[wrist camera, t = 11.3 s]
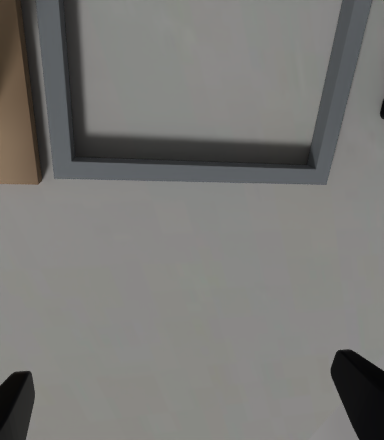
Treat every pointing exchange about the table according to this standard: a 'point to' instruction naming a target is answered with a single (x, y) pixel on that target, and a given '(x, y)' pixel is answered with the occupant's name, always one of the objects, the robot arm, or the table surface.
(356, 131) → the table surface
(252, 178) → the bin rim
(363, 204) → the table surface
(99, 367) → the table surface
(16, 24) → the walnut pad
